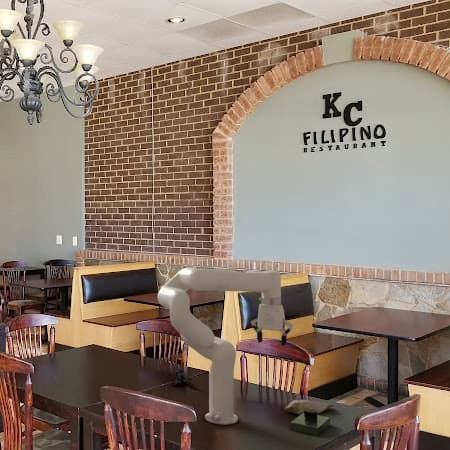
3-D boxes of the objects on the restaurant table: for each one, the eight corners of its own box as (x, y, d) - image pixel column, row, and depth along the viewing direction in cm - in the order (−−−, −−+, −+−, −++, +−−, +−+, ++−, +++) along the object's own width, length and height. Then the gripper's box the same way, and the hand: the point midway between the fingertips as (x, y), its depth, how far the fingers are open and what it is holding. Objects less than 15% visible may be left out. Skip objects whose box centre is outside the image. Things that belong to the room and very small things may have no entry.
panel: (317, 435, 224) (318, 427, 224) (290, 430, 230) (290, 421, 230) (330, 425, 235) (330, 417, 235) (303, 420, 241) (303, 412, 241)
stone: (290, 405, 245) (282, 390, 254) (286, 418, 247) (278, 403, 257) (340, 409, 247) (330, 394, 256) (336, 422, 249) (326, 406, 259)
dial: (315, 422, 229) (315, 412, 229) (302, 420, 232) (302, 409, 232) (319, 419, 233) (319, 409, 233) (306, 416, 236) (306, 406, 236)
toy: (180, 388, 284) (166, 380, 298) (195, 388, 286) (181, 380, 301) (181, 374, 284) (167, 367, 299) (196, 374, 287) (182, 367, 301)
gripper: (247, 301, 251) (247, 342, 251) (289, 304, 241) (290, 347, 241) (254, 298, 257) (254, 339, 257) (295, 301, 247) (296, 344, 247)
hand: (271, 343), depth 249 cm, fingers open, 9 cm apart
